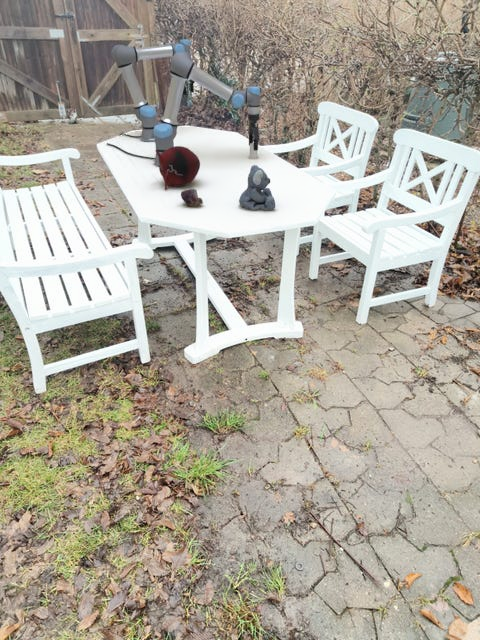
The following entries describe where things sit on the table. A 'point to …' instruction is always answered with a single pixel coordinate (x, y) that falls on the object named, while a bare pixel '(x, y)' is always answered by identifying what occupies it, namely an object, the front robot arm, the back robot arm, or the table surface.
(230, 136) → the table surface
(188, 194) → the rock
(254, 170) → the koala plush
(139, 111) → the back robot arm
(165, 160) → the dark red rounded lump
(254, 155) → the canister
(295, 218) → the table surface
